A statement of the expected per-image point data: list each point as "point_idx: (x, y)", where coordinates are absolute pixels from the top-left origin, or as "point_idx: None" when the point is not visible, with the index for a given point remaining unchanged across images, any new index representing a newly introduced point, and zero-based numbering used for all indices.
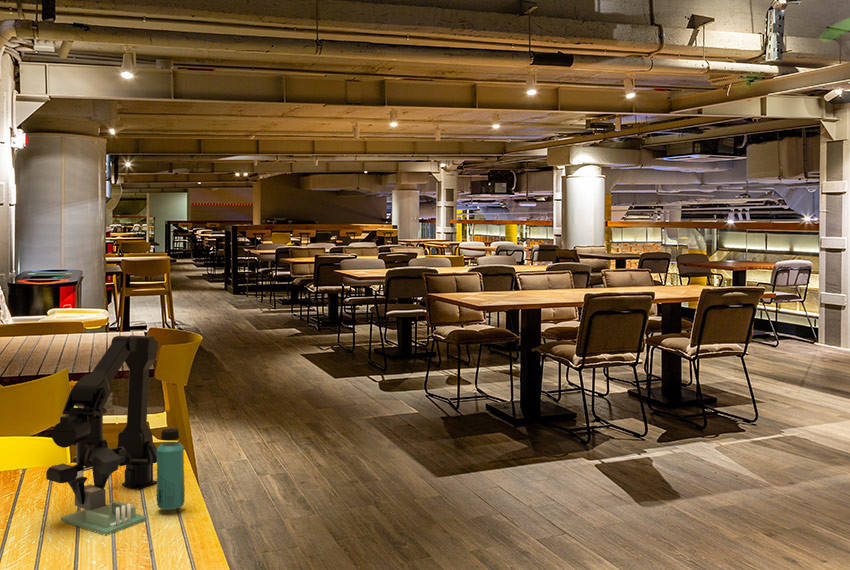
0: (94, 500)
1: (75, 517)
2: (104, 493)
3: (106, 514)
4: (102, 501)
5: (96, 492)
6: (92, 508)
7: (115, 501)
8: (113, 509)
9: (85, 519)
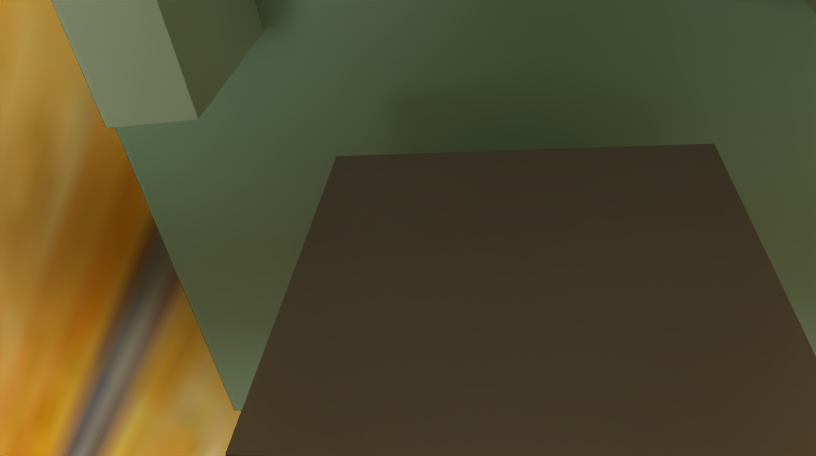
0: (624, 273)
1: (788, 264)
2: (294, 353)
3: (389, 7)
4: (394, 217)
5: (577, 444)
6: (653, 165)
7: (115, 115)
8: (232, 16)
9: (782, 71)
